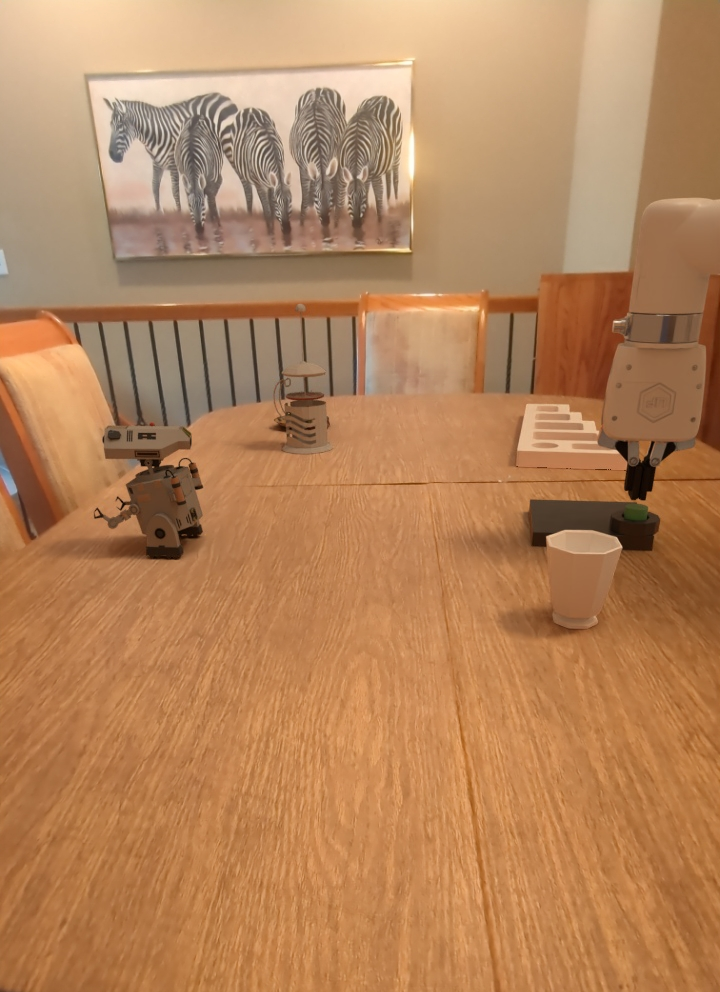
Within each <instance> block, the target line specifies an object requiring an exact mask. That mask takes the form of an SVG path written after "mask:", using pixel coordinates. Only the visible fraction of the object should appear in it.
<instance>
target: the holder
mask: <svg viewBox="0 0 720 992" xmlns="http://www.w3.org/2000/svg"><path fill="white" fill-rule="evenodd" d="M524 410H525V411H524V414H523V415H524V416H523V419H522V424H521V430H520V434H519V439H518V444H517V449H516V458H515V459H516V460H515V461H516V462H515V467H516V466H518V467H517V468H537V467H547V468H546V469H566V468H568V469H569V470H570V468H571V470H595V469H607V470H606V471H624V470H626V469H627V461H626V460H625V459H624V458H623V457H622V455H621V454H620V453H619V452H618V451H617V450H614V449H609V448H605V447H602V446H599V445H598V443H597V437H598V434H599V431H600V430H597V427H596V421H594V420H583V416H582V412H581V411H570V410H571V409H570V404H567V403H566V404H565V403H526V405H525V409H524ZM568 469H567V470H568ZM608 469H609V470H608ZM610 469H611V470H610Z"/></svg>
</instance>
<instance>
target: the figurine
mask: <svg viewBox="0 0 720 992" xmlns="http://www.w3.org/2000/svg"><path fill="white" fill-rule="evenodd" d="M192 435H193V434H192V432H191V431H190V430H188V429H187V428H186V427H184V426H181V425H180V426H171V425H163V426H162V425H156V424H155V423H154V422H150V423H149V424H148V425H107V426H106V427H105V428H104V435H102V439H101V440H102V444H103V452H104V458H105V460H136V461H139V464H140V467H141V468H144V467H145V468H146V467H147V468H146V469H145V470H141V471H140V472H138V473H136V474H135V476H134V477H135V478H133V479H132V480H130V481H128V482H127V483H125V487H126V490H127V493H128V495H129V496H128V497H129V499H130V500H128V501H127V500H126V501H123V499H121V498H120V496H116V499H115V502H118V501H119V502H120V503H121V506H120V507H119V506H116V508H117V509H118V510H119V511H120V512H119V514H117V515H116V516H112V517H109V516H107V515H106V514H104V513H103V512H102V511H101V510H100V509H99V507H96V508H95V510H94V511H93V519H94V520H96V519H103V520H105V521H106V522H107V527H108V528H109V529H111V530H114V529H116V528H117V527H118V526H119V524H121V523H123V522H124V521H125V522H126V521H128V520H130V519H131V518H132V516H136V519H137V522H138V525H139V528H140V531H141V534H142V535H145V536H146V547H145V555H146V556H148V557H149V558H150V559H154V558H156V559H161V558H162V557H163V556H164V557H165V558H166V559H168V560H170V559H172V558H173V559H174V560H176V559H178V558H179V557H181V556H182V555H183V554H184V552H185V551H184V549H183V548H184V547H183V544H181V542H180V538H181V537H182V536H183V535H184V536H186V537H187V538H191V537H193V538H197V537H198V536H200V535H202V533H204V531H203V526H202V524H201V522H200V519H201V518H202V517H204V514H203V510H202V507H201V504H200V501H199V497H198V493H197V491H198V490H202V489H204V485H203V483H202V480H201V477H200V476H201V475H200V473H199V469H198V466H197V463H196V462H192V460H191V459H190V458H188V457H183V458H181V459H179V461H178V465H177V466H175V465H173V464H164V465H161V464H162V462H163V461H164V460H165V458H167V457H169V456H171V455H172V454H174V453H176V452H178V451H179V450H181V451H182V450H187V451H188V450H189V451H190V450H191V449H192V446H193V436H192ZM184 460H188V461H189V464H188V466H186V465H185V466H184V465H181V462H182V461H184ZM125 506H128V509H124V508H125ZM96 512H98V515H97V516H96Z"/></svg>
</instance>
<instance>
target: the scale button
mask: <svg viewBox="0 0 720 992" xmlns="http://www.w3.org/2000/svg"><path fill="white" fill-rule="evenodd" d="M648 512H649V506H648V505H646V504H643V503H637V504H627V505H626V506H625V513H624V518H625V519H630V520H641V521H642V520H647V514H648Z"/></svg>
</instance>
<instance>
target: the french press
mask: <svg viewBox="0 0 720 992" xmlns="http://www.w3.org/2000/svg"><path fill="white" fill-rule="evenodd" d="M294 311H295V312H299V314H300V315H299V317H300V335H301V336H300V337H301V353H302V354H301V355H302V361H300V362H297V363H294V364H291V365H289V366H287V367H286V368H285V369H283V370H282V371H281V375H282V376H284V377H287V378H282V379H280V380H278V382H276V384H275V386H274V388H273V396H272V397H273V405H274V408H275V410H276V413H277V414H278V416H279V417H280V416H281V417H282V418H283V419H285V421H286V427H285V434H286V443H285V444H284V445H283V446H282V447H281V450H282V451H283V452H285V453H289V454H297V455H309V454H311V455H312V454H313V455H314V454H320V453H321V454H322V453H325V452H329V451H331V450H333V449H334V445H333V444H332V443H331V442H330V441H329V439H328V426H327V416H328V414H327V413H328V412H327V401H325V400H320V399H323V398H324V397H325V394H324V392H321V391H312V392H311V390H310V391H306V378H316V377H322V376H325V375H326V373H327V370H326V369H324V368H323V367H322V366H320V365H318V364H315V363H311V362H307V361H305V355H304V353H305V352H304V336H303V319H302V318H303V317H302V316H303V315H302V312H306V311H307V308H306V306H305V305H304V303H298V304H297V305H295V308H294ZM291 378H303V391H302V390H301V391H294V392H289V393H286V394H285V398H286V399H287V400H290V402H285V403H284V408H283V405H282V401H281V389H282V387H283V385H284V387H285V388H289V387H290V386H291V385H292V383H291V382H292V380H291ZM286 381H288V382H289V383H288V384H286ZM279 384H280V385H279ZM278 385H279V389H278V403H279V405H280V408H281V412H283V414H284V415H285V418H284V417H283V416H284V415H282V414H281V413H280V412H279V410H278V408H277V405H276V397H275V396H276V395H275V394H276V390H277V387H278ZM297 400H298V401H297ZM289 404H290V405H289ZM312 405H313V406H312ZM307 406H312V407H307ZM288 412H290V413H291V416H289V415H288V414H290V413H288ZM302 418H303V419H302ZM289 419H290V420H291V423H289ZM308 420H315V422H312V423H304V422H306V421H308ZM313 426H314V427H315V429H313V430H307V428H308V427H313ZM290 427H291V429H290Z"/></svg>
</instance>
